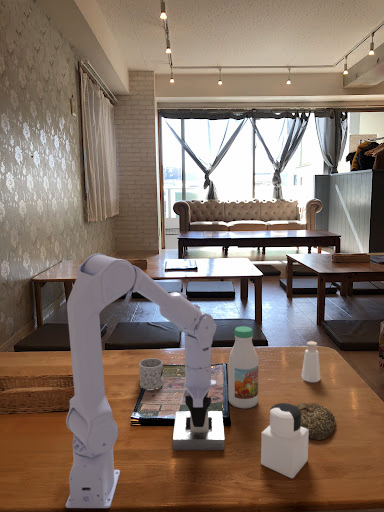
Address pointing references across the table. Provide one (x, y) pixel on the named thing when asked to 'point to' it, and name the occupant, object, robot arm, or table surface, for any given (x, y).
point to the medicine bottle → (284, 441)
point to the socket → (198, 433)
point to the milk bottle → (243, 370)
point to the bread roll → (316, 420)
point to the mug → (151, 373)
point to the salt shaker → (311, 363)
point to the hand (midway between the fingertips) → (198, 420)
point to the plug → (200, 429)
